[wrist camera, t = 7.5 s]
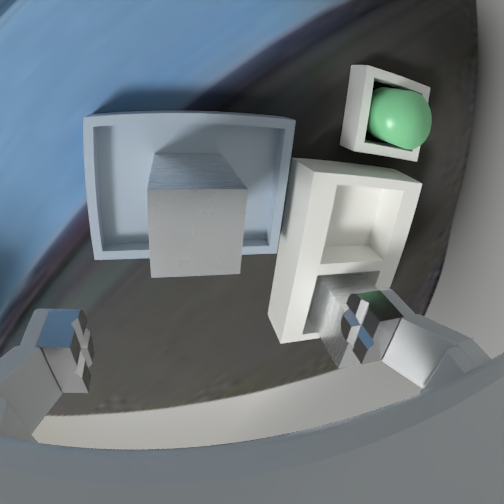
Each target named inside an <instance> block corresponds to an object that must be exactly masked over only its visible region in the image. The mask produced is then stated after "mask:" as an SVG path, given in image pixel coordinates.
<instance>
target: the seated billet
mask: <svg viewBox="0 0 504 504" xmlns="http://www.w3.org/2000/svg"><path fill="white" fill-rule="evenodd" d="M375 290H378V288H377V287H376V286H375V285H374V284H373V283H372V282H371V281H370V280H369V279H368V277H367V276H366V275H365V274H364V273H363V272H355V273H343V274H330V275H317V279H316V283H315V287H314V291H313V295H312V299H311V303H310V307H309V311H308V314H307V316H308V318H309V319H310V321H311V323H312V324H313V326H314V328H315V330H316V331H317V333H318V335H319V336H320V338H321V340H322V342H323V343H324V345H325V347H326V349H327V350H328V352H329V354H330V355H331V357H332V359H333V361H334V362H335V364H336V366H337V368H343V367H347V366H352V365H356V364H360V361H359V360H358V358H357V357H356V355H355V354H354V352H353V351H352V349H353V345H352V344H350V343H348V342H347V341H346V340H345V338H344V337H343V335H342V332H341V320H342V316H343V314H344V313H345V312H346V311H347V310H348V309H349V308H348V306H347V304H346V303H347V300H348V297H349V296H350V295H351V293H359V292H367V291H375Z"/></svg>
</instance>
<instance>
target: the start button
mask: <svg viewBox="0 0 504 504" xmlns="http://www.w3.org/2000/svg"><path fill="white" fill-rule="evenodd" d="M431 123H432V116H431V111H430V107H429V105H428V103H427V101H426V100H425V98H424V97H423V96H422V95H420V94H419V93H417V92H414V91H408V90H401V89H394V88H387V87H380V88H377V89H375V90H373V91H372V98H371V105H370V111H369V117H368V124H367V130H368V132H369V133H370V134H371V135H372V136H374V137H375V138H378V139H380V140H383V141H386V142H388V143H391V144H394V145H396V146H399V147H401V148H404V149H415V148H417V147H419V146H420V145H421V144H423V142H424V141H425V140H426V138H427V137H428V135H429V132H430V129H431Z"/></svg>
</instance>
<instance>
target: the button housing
mask: <svg viewBox="0 0 504 504" xmlns="http://www.w3.org/2000/svg"><path fill="white" fill-rule="evenodd" d="M374 81H377V82H380V83H383V84H386V85H390V86H393V87H396V88H399V89H402V90H408V91H414V92H417V93H419V94H420V95H422V96H423V97H424V98H425V100H426V101H427V103H428V101H429V94H430V87H428V86H425V85H423V84H420V83H418V82H415V81H413V80H410V79H407V78H405V77H402V76H399V75H396V74H393V73H390V72H387V71H384V70H381V69H378V68H375V67H372V66H369V65H351V69H350V77H349V85H348V92H347V99H346V106H345V113H344V119H343V126H342V132H341V138H340V144H339V145H341V146H343V147H345V148H348V149H350V150H352V151H355V152H362V153H369V154H375V155H382V156H388V157H393V158H399V159H405V160H410V161H415V162H417V160H418V155H419V150H420V146H419V147H417V148H415V149H404V148H401V147H399V146H396V145H392V144H387V143H382V142H376V141H371V140H365V135H366V130H367V124H368V117H369V111H370V105H371V98H372V91H373V84H374Z"/></svg>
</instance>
